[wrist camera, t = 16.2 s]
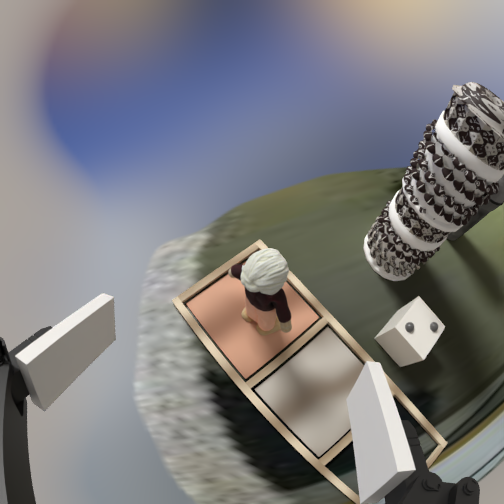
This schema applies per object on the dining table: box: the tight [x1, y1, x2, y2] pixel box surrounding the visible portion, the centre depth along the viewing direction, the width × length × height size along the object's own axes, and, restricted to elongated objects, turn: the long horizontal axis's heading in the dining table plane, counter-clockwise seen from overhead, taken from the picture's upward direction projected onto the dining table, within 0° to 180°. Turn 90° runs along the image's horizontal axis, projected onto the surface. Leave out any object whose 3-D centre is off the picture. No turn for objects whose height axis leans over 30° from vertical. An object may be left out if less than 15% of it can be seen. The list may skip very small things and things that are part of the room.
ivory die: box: [374, 296, 445, 367], centre depth 26 cm, size 5×5×6 cm
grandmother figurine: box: [228, 248, 292, 336], centre depth 24 cm, size 8×4×13 cm, turn 54°
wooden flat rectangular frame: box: [172, 240, 447, 504], centre depth 26 cm, size 36×13×1 cm, turn 39°
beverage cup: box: [447, 175, 504, 241], centre depth 29 cm, size 7×7×20 cm
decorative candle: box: [363, 82, 504, 281], centre depth 24 cm, size 9×9×25 cm
